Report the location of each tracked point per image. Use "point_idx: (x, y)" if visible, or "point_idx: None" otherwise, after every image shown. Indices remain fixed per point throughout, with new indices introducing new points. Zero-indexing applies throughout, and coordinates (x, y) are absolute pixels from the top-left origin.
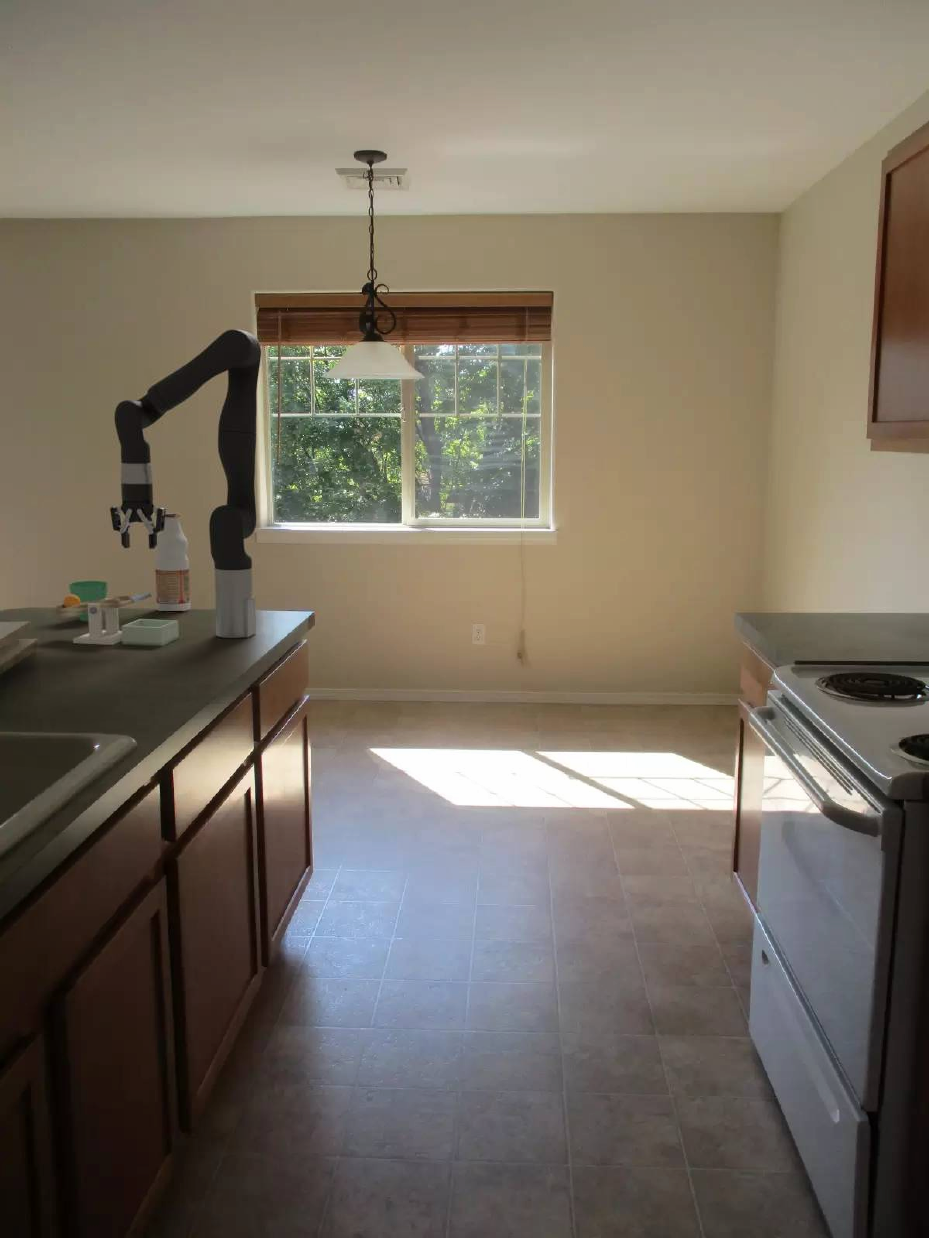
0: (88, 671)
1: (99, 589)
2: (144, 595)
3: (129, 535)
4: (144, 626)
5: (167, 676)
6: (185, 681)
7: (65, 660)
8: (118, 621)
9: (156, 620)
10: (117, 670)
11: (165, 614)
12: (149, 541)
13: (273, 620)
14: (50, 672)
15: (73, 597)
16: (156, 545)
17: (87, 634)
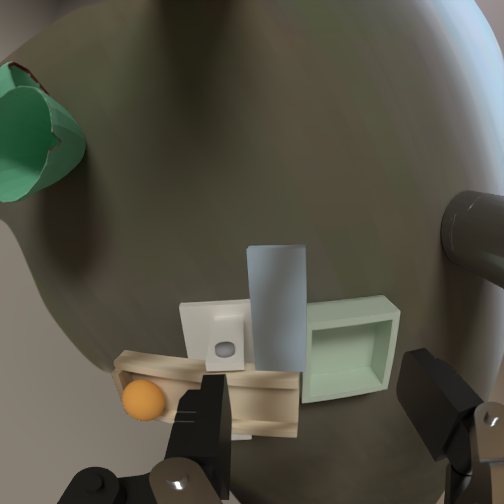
0: (325, 487)
1: (55, 159)
2: (306, 299)
3: (219, 438)
4: (351, 391)
5: (413, 467)
6: (431, 468)
7: (267, 469)
8: (243, 328)
9: (351, 325)
10: (356, 476)
11: (206, 13)
12: (418, 425)
13: (468, 55)
14: (284, 499)
15: (152, 418)
16: (440, 363)
17: (193, 356)
